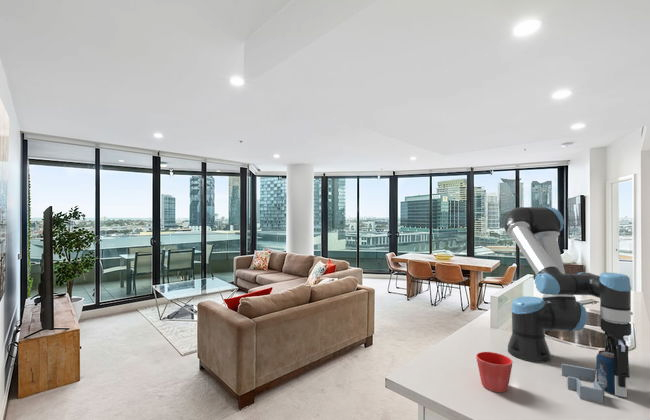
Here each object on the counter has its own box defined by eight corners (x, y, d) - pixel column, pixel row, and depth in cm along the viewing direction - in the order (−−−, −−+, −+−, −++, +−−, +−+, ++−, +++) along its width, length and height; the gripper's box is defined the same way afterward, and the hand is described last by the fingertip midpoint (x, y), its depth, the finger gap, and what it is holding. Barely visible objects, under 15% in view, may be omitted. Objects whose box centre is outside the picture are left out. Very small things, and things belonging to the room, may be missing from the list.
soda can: (625, 390, 106) (624, 354, 106) (623, 398, 101) (623, 360, 102) (598, 382, 111) (597, 347, 111) (595, 390, 106) (594, 353, 107)
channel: (571, 396, 102) (571, 384, 102) (561, 374, 117) (561, 363, 117) (609, 405, 98) (609, 391, 98) (594, 380, 112) (594, 369, 112)
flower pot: (480, 375, 116) (480, 348, 116) (515, 385, 109) (514, 356, 110) (472, 387, 108) (472, 358, 108) (509, 399, 101) (509, 368, 101)
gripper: (643, 332, 95) (644, 409, 95) (619, 313, 113) (620, 378, 113) (610, 328, 99) (612, 402, 98) (592, 310, 116) (593, 373, 116)
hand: (616, 389), depth 106 cm, fingers closed on soda can, 7 cm apart
